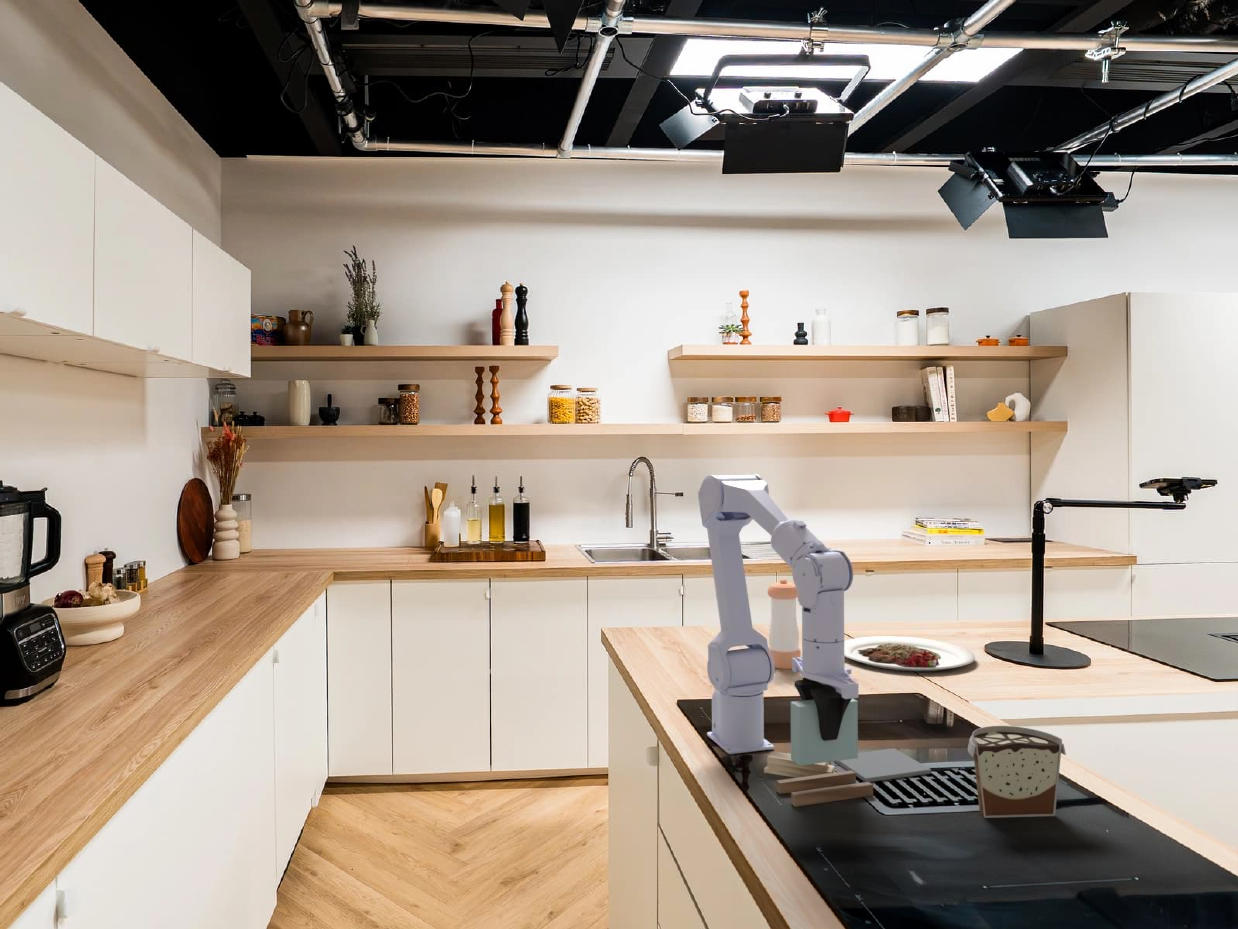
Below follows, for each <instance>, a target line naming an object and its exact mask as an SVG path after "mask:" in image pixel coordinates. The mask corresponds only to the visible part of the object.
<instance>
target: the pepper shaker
mask: <svg viewBox="0 0 1238 929" xmlns="http://www.w3.org/2000/svg"><path fill="white" fill-rule="evenodd" d="M767 596H769V597H770V598H771V600H770V602H771V605H770V608H771V609H770V612H771V613H770V614H771V615H770V623H769V629H768V642H769V643H768V648H769V651H770V653H771V655H772V657H773V660H774V665H775V669H783V670H784V669H787V670H788V669H791V670H792V658H798V657H802V654H801V652H802V649H801V648H800V645H799V644H800V632H799V625H798V621H797V599H798V592H797V588H796V586H795V584H794V583H792V582H788V580H787V579H783V578H782V579H780V580H779V582H774V583H772V584H770V585H769V587H768V588H767Z"/></svg>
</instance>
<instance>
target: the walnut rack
mask: <svg viewBox="0 0 1238 929" xmlns="http://www.w3.org/2000/svg"><path fill="white" fill-rule="evenodd" d="M835 772H836V773H829V774H821V775H814V776H806V777H799V778H796V777H791V778H784V779H778V780H776V793H778V794H780V795H781V794H789V793H790V797H791V798H790V800H791V801H790V804H791V805H792V806H793V807H802V806H808V805H809V806H810V805H816V804H825V803H829V802H837V801H845V800H850V799H851V800H852V799H859V798H865V797H872V796H874V784H873V783H871V782H864V781H863V782H858V783H857V778H856V777H857V776H856V773H855V772H854V771H852V770H851V771H848V770H845V771H838V772H837V771H835Z"/></svg>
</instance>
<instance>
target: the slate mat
mask: <svg viewBox="0 0 1238 929" xmlns="http://www.w3.org/2000/svg"><path fill="white" fill-rule="evenodd" d="M834 763H837V764H838V765H839V766H841V767H843V769H845V771H851V770H852V771H854V772H855V773H856V777H857V778H858V779H860V780H862V782H863V783H864V782H870V783H871V782H872V783H873V782H878V781H879V782H880V781H886V780H894V779H901V778H908V777H915V776H923V775H929V774H932V769H931V768H929V767H927V766H926V765H925V764H922V763H921V762H919V761H917V760H916V759H914V758H912V757H910V756H908V755H907V754H905V753H903V752H902V751H899V750H898V749H896V748H887V749H886V748H885V749H878V750H872V751H862V752H858V758H855V759H847V760H840V761H834Z"/></svg>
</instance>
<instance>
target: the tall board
mask: <svg viewBox="0 0 1238 929" xmlns="http://www.w3.org/2000/svg"><path fill="white" fill-rule="evenodd" d="M858 706H859V705H858V700H856V698H852V700H851V701H850V703H849V705H848V706H847V708H846V711H845V713H844V716H843V719H842V722H841V726H840V730H839V734H838V738H837V739H836V740H828V741H824V740H822V738H821V734H820V728H819V717H818V712H817V708H816V704H815V701H814V700H804V701H802V700H796V701H790V754H791V759H792V760H793V761H794V762H796V763H797V764H798V765H800V766H801V765H808V764H816V763H824V762H828V763H831V762H835V761H840V760H847V759H855V758H858V753H859V746H858V745H859V744H858V742H859V734H858V733H859V728H858V726H859V723H858V720H859V719H858V713H859V712H858V711H859V710H858Z"/></svg>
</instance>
